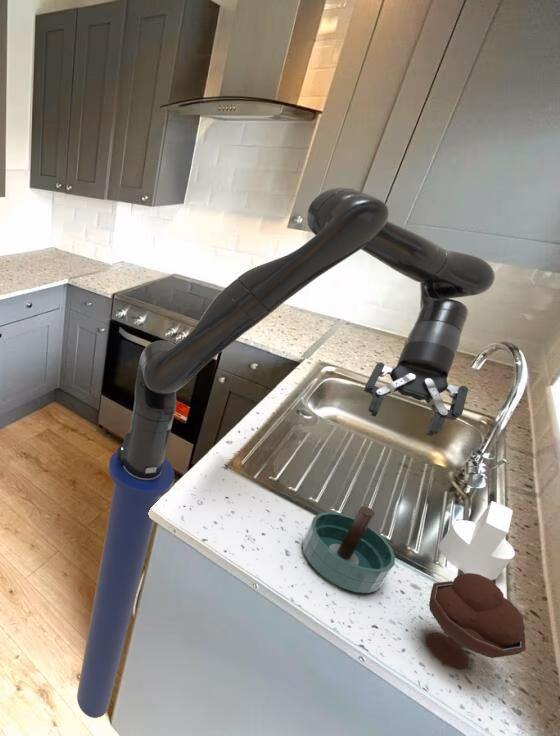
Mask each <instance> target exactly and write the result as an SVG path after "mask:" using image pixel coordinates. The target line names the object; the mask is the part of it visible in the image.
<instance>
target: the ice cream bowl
mask: <svg viewBox="0 0 560 736" xmlns="http://www.w3.org/2000/svg"><path fill="white" fill-rule="evenodd" d="M428 606H429V611H430V613H431V614H432V616H433V618H434V619H435V621H436V622H437V624H438V625H439V627H440V628H441V630H442V631H443V633H444V634H443V633H440V632H438V631H436V632H430V633H427V634H426V636H425V644H426V645H427V647H428V649H429V650H430V652H431V654H433V655H434V656H435V657H436V658H437V659H438V660H440V661H441V662H442V663H444V665H447V666H449V667H452V668H454V669H456V670H465V669H469V663H470V662H469V661H470V656H469V655H468V653H467V652H466V650H469V651H471V652H474V653H476V654H479V655H481V656H484V657H487V658H489V659H495V658H497V659H498V658H502V657H509V656H515V655H518V654H521V653H522V652H525V651H526V648H527V647H526V632H525V630H526V627H525V622H524V617H523V615H522V613H521V612H520V611H519V609H518V608H517V607H516V606H515V605H514V604H513V602H511V601H510V600H509V599H507V598H506V597H504V593H503V591H502V590H501V588H500V587H499V586H498V585H497V584H495V582H494V581H493V580H490V579H488V578H486V577H484V576H481V575H479V574H473V573H463V574H460V575H457V576H455V578H453V581H452V580H448V581H439V582H434V583H433V584H432V587H431V591H430V597H429V602H428ZM464 649H466V650H464Z"/></svg>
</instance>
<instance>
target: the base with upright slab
mask: <svg viewBox="0 0 560 736" xmlns="http://www.w3.org/2000/svg"><path fill="white" fill-rule="evenodd" d="M513 512H514V510H513V509H512V508H509V507H507V506H505V505H504V504H501V503H498V502H496V501H493V500H491V501H490V502H489V504H488V506H487V507H486V508H485V510H484V511H483V513H481V515H480V517H479V518H478V520H477V521H476V522H474V521H472V520H466V519H459V520H455V521H454V522H453V524H451V527H449V529H448V531H446V533H445V535H444V536H443V538H442V540H441V541H440V542H439V544H438V549H439V552H440V553H441V555H442V557H443V558H445V560H446V561H447V562H449V563H450V565H452V566H453V567H455V568H456V569H458V570H459V571H461V572H463V574H465V573H473V574H479V575H481V576H484V577H486V578H488V579H490V580H491V581H494V580H497V578H498V577H499V576H500V575H501V573H502V572H503V571H504V570H505V568H506V567H507V566H508V565H509V564H510V562H511V561H512V560H513V559H514V557H515V556H516V552H515V549H514V547H513V546H512V545H511V544H510V542H509V541H508V540H506V539H505V538H506V537H507V535H508V534H509V531H510V527H511V521H512V516H513Z"/></svg>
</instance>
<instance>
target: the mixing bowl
mask: <svg viewBox="0 0 560 736" xmlns="http://www.w3.org/2000/svg"><path fill="white" fill-rule="evenodd" d="M354 519H355V517H353V516H350V515H347V514H345V513H340V512H334V511H326V512H319V513H318V514H317V515H315V516H314V517H313V518H312V520H311V522H310V524H309V526H308V529H307V530H306V533H305V535H304V537H303V540H302V543H301V545H302V550H303V554H304V557H306V559H307V561H308V562H309V564H310V565H311V566H312V568H313V569H314V570H315V571H316V572H317V573H318V574H319V575H320V576H321V577H323V578H324V579H325V580H327V581H328V582H330V583H331V584H332V585H334V586H336V587H339V588H341V589H343V590H346V591H350V592H354V593H360V594H369V593H373V592H376V591H378V590H379V589H380V588H381V587H382V585H383V584H384V582H385V581H386V579H387V578H388V576H389V574H390V573H391V571H392V569H393V568H394V567H395V563H396V555H395V552H394V551H393V548H392V546H391V545H390V544H389V542H388V541H387V540H386V539H385V538H384V537H383V536H382V535H381V534H380V533H379V532H378V531H377V530H375V529H374V528H373V527H371V526H370V525H369V526H368V528H367V530H366V531H365V533H364V535H363V537H362V539H361V540H360V542H359V544H358V546H357V547H356V549H355V551H354V553H355V554H356V556H357V557H358V559H359V564H358V565H355V564H353V563H351V562H349V561H347V560H345V559H343V558H341V557H340V556H339V555H337V554H336V553H334V552H333V551H332V550H330V549H329V546H330V545H332V544H340V545H341V543H342V541H343V539H344V538H345V536H346V534H347V532H348V530H349V528H350V526H351V524H352V523H353V521H354Z"/></svg>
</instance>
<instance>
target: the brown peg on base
mask: <svg viewBox="0 0 560 736" xmlns="http://www.w3.org/2000/svg"><path fill="white" fill-rule="evenodd" d="M375 516H376V513H375V511H374V510H373V509H372V508H370V507H368V506H360V508H359V509H358V511H357V513H356V515H355V517H354V518H355V519H354V521H353V523H352V524H351V526H350V528H349V530H348V532H347V534H346V536H345V538H344V539H343V541H342V543H341V545H340V544H332V545H330V546H329V549H330V550H332V551H333V552H334V553H336V554H337V555H339V556H340V557H341V558H343V559H345V560H347V561H349V562H351V563H353V564H355V565H358V564H359V559H358V557H357V556H356V554H355V553H354V551H355V549H356V547H357V546H358V544H359V542H360V540H361V539H362V537H363V535H364V533H365V531H366V530H367V528H368V526H370V524H371V522H372V521H373V519H374V517H375Z"/></svg>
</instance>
